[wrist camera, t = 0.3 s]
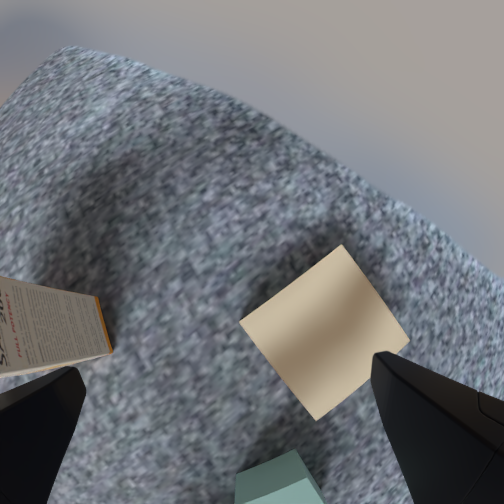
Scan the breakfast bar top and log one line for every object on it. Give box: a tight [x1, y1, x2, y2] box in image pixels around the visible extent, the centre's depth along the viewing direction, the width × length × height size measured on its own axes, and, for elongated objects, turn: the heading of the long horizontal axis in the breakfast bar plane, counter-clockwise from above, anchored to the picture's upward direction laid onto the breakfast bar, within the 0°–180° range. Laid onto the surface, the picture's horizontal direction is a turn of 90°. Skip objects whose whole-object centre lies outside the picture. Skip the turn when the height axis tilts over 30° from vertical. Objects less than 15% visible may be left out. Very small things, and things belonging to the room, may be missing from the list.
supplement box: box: [0, 276, 113, 378], centre depth 15 cm, size 8×5×13 cm, turn 109°
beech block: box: [239, 244, 410, 421], centre depth 20 cm, size 8×8×4 cm
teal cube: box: [234, 449, 327, 504], centre depth 17 cm, size 5×5×5 cm
